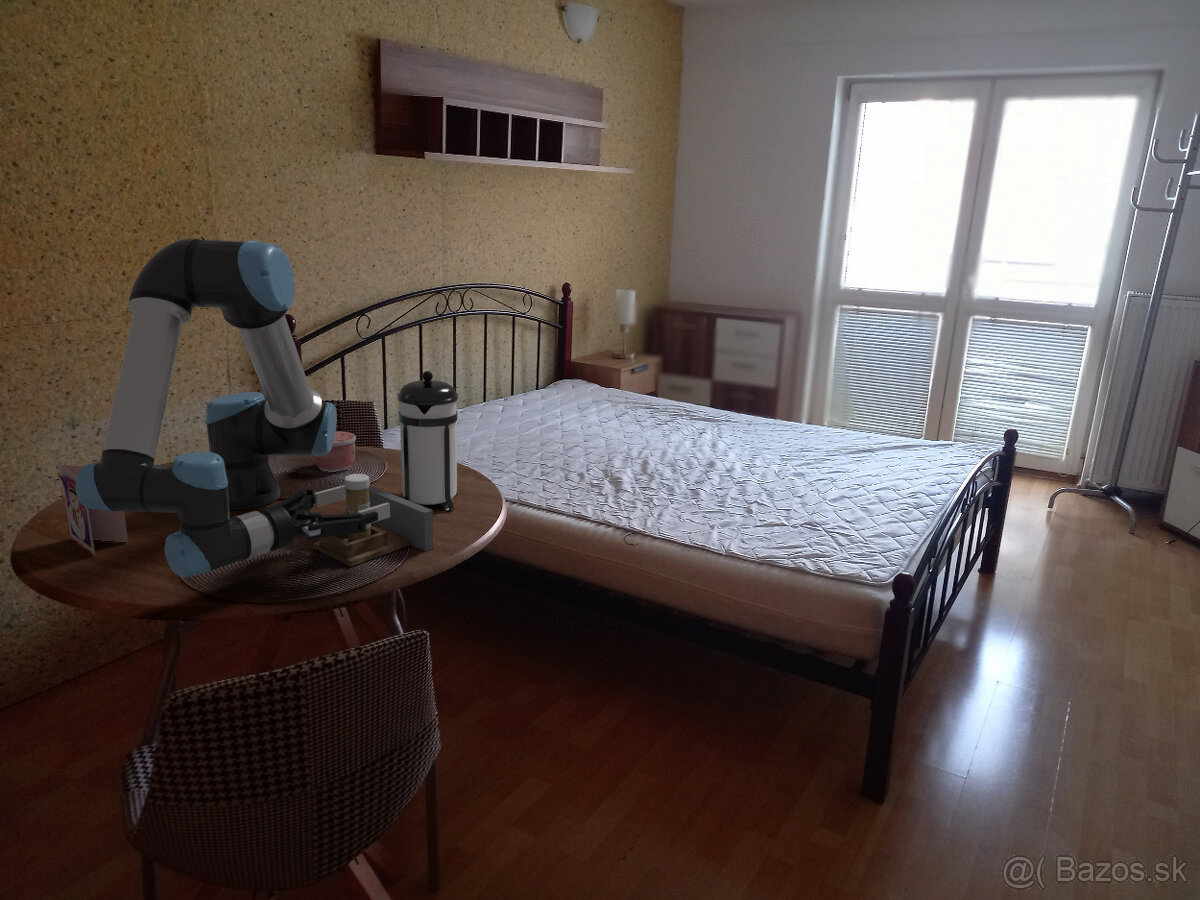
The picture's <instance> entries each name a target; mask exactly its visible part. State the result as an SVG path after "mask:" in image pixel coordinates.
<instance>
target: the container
mask: <svg viewBox="0 0 1200 900" xmlns="http://www.w3.org/2000/svg"><path fill="white" fill-rule="evenodd" d="M356 438H357V435H355V434H354V433H352V432H347V431H340V430H339V431H338V430H336V433H335V438H334V443H333V446H332V449H331V451H330V452H329V453H328V454H327V455H325V456H313V461H314V463H315V466H316V467H318V469H319V468H320V469H322V470H329V471H336V470H337V471H338V470H344V469H348V468H349V467H351V468H352V465H353V464H354V462H355V459H356V443H355V442H356V440H357V439H356Z"/></svg>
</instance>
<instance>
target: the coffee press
mask: <svg viewBox="0 0 1200 900" xmlns="http://www.w3.org/2000/svg"><path fill="white" fill-rule="evenodd" d="M421 377H422V379H423V380H415V381H414V380H413V381H410V382H408V383H406V384H404V385H403V386H402V387H401V388H400V391H399V393H398V394H397V401H398V403H399V410H398V422H399V427H400V428H399V429H400V431H399V433H400V465H401V490H402V491H401V492H402V496H403V499H406V500H408V501H411V502H413V503H416V504H418V505H430V506H432V505H438V504H440V505H441V506H443V508H444V511H445V512H450V511H453V510H454V509H455V507H454V504H453V502H452V500H453V499H454V496H455V495H456V496H458V471H457V469H458V468H457V467H458V465H457V464H458V460H457V459H458V457H457V455H458V454H457V453H458V452H457V451H458V450H457V448H458V447H457V446H458V445H457V442H458V441H457V439H458V438H457V422H458V410H457V401H458V399H459V395H458V393H457V392H456V390H455V388H454V386H452V385H451V384H450V383H447V382H444V381H441V380H433V378H434V375H433V373H432V372H431V371H430V370H425V371H424V372H423V373H422V375H421ZM456 496H455V497H456Z"/></svg>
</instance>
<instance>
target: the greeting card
mask: <svg viewBox="0 0 1200 900" xmlns="http://www.w3.org/2000/svg"><path fill="white" fill-rule="evenodd" d="M84 466H85V465H84ZM84 466H83V465H69V464H68V465H67V464H59V471H60V474H58V477H59V478H60V480H61V481H62V488H63V495H64V502H65V508H66V516H67V521H68V527H69V534H70V537H71V536H72V537H73V538H74V539H76V540H77V541H78V542H80V543H81V544H82V545H84V546H85V547H86V548H88V549H89V550H90V551H92V552H93V553H94V554H95V555H96V552H95V544H94V541H93V538H94V539H102V540H109V541H119V542H127V543H126V544H129V539H128V532H127V530H128V529H127V523H126V517H125V511H117V512H115V511H114V512H111V511H107V510H96V509H88V508H87V507H85V506H84V505H82V504H81V502H80V501H79V499H78V497H77V493H76V480H77V477H78V474H79V473H81V470H82V468H83V467H84Z"/></svg>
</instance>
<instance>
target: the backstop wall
mask: <svg viewBox="0 0 1200 900" xmlns="http://www.w3.org/2000/svg"><path fill="white" fill-rule="evenodd" d="M369 501H370V508H371V507H374V506H378V505H381V504H384V503H389V504H390V517H389V518H386V519H383V520H380V521H376V522H373V523H371V524H376V525H378V526H381V527H383V528H385V529H387V530H390V531H392V532H394V533H397V534H399V535H401V536H403V537H406V538H408V539H410V540H412V545H411V547H415V548H416V549H418V550H421V551H424V552H427V551H430V550H433V549H434V524H433V523H434V520H433V519H434V513H433V509H431V508H428V507H425V506H423V505H422V504H417V503H413V502H411V501H408V500H406V499H404V497H400V496H398V495H395V494H393V493H390V492H387V491H385V490H382V489H380V488H377V487H375V486H372V485H370V486H369Z"/></svg>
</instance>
